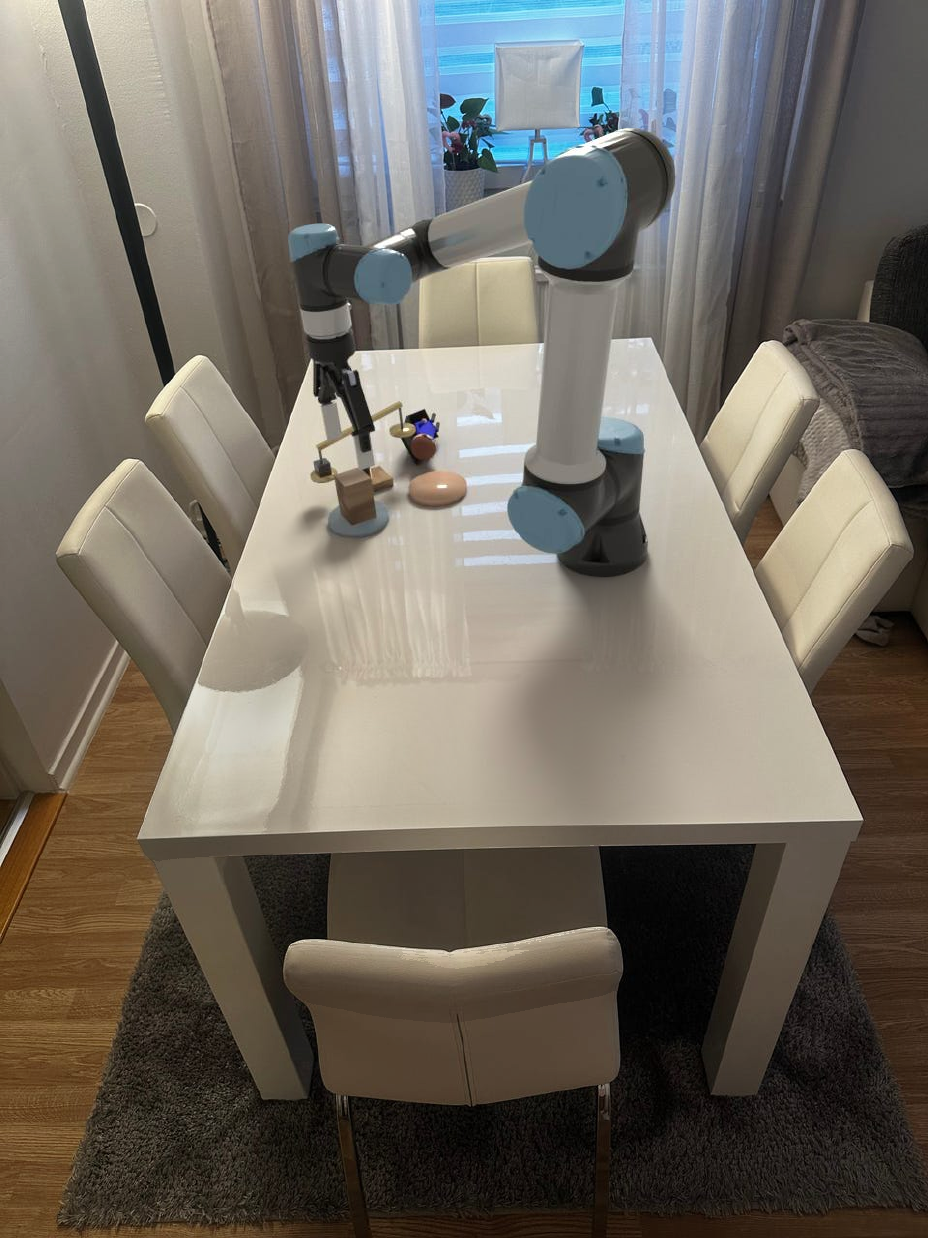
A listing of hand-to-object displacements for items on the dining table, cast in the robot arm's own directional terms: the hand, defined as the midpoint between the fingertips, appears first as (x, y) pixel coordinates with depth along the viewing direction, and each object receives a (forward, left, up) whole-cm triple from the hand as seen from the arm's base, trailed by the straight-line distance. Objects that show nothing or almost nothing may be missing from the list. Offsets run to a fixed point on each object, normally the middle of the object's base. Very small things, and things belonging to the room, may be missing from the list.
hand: (350, 452), depth 154 cm
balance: (+11, -7, -14) cm, 19 cm away
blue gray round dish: (0, 0, -14) cm, 14 cm away
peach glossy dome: (+1, -17, -14) cm, 22 cm away
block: (0, 0, -13) cm, 13 cm away
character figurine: (+17, -22, -14) cm, 31 cm away
